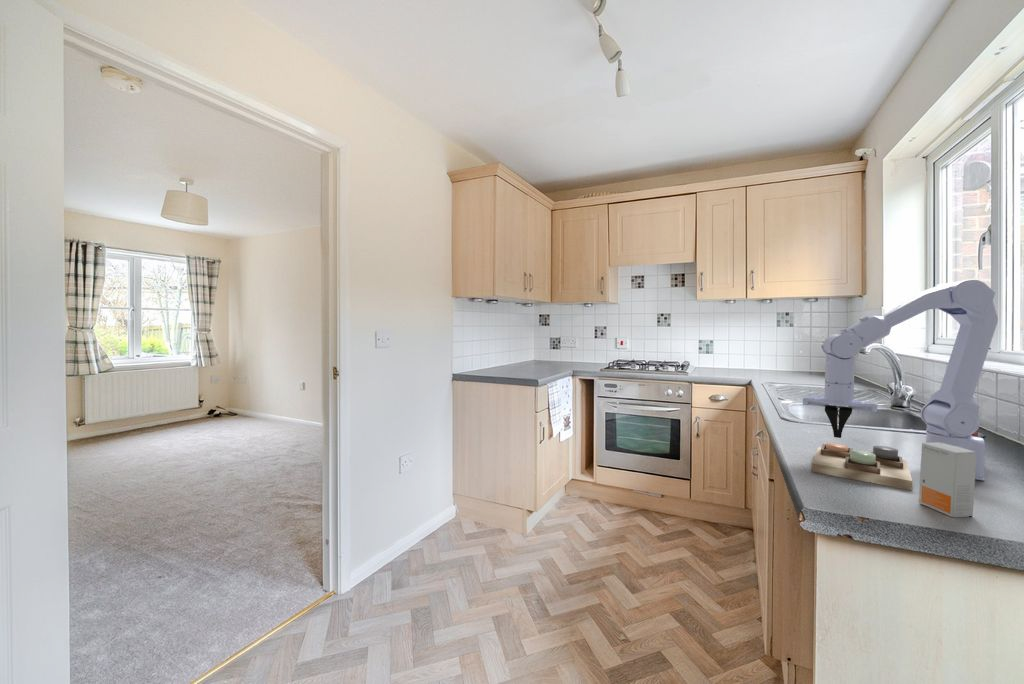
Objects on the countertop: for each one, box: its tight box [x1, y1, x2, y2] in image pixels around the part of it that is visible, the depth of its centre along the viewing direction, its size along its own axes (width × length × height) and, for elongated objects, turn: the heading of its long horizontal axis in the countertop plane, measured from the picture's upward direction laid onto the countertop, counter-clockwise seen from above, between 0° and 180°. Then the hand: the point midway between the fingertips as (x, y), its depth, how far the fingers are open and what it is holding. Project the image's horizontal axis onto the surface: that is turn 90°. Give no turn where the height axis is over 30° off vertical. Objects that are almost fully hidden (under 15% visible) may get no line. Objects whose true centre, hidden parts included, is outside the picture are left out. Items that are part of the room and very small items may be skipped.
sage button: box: [850, 449, 876, 465], centre depth 95 cm, size 4×4×2 cm
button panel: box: [811, 443, 913, 491], centre depth 99 cm, size 17×16×3 cm
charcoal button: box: [872, 445, 899, 459], centre depth 98 cm, size 4×4×2 cm
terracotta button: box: [825, 442, 849, 453], centre depth 105 cm, size 4×4×2 cm
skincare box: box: [918, 442, 977, 518], centre depth 78 cm, size 6×4×12 cm
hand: (837, 436), depth 105 cm, fingers closed
